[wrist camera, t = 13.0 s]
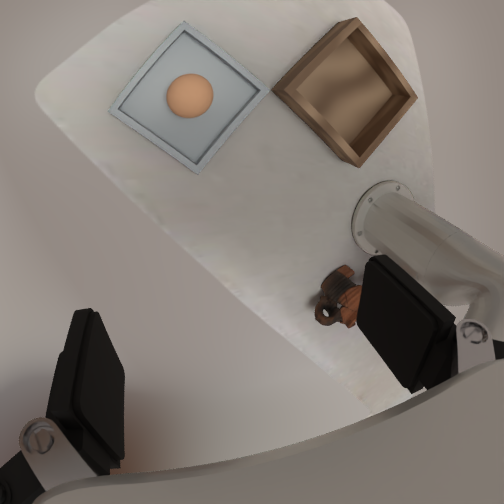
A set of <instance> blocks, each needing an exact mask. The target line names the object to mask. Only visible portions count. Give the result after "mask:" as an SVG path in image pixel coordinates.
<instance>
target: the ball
mask: <svg viewBox="0 0 504 504" xmlns="http://www.w3.org/2000/svg"><path fill="white" fill-rule="evenodd" d="M166 99H167V104H168V106H169V108H170V109H171V111H172V112H173V113H175V114H176V115H178V116H180V117H183V118H195V117H198V116H200V115H202V114H203V113H205V112H206V111H207V110H208V109H209V107H210V106H211V104H212V101H213V89H212V86H211V84H210V83H209V81H208V80H207V79H206V78H204V77H203V76H201V75H198V74H184V75H181V76H179V77H178V78H176V79H175V80H174V81H173V82H172V83H171V84H170V86H169V88H168V90H167V95H166Z"/></svg>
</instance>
